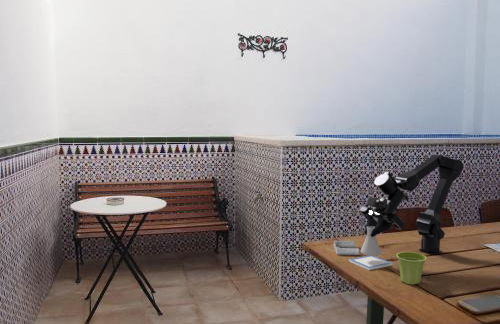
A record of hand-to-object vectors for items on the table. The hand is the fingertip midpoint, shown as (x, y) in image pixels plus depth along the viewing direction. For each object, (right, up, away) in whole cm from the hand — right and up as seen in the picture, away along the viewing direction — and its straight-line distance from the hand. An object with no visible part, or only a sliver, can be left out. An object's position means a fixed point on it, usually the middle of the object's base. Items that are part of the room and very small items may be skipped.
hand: (368, 235), depth 172 cm
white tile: (+1, -11, +2) cm, 11 cm away
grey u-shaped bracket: (-4, -9, +18) cm, 20 cm away
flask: (+1, -7, +1) cm, 7 cm away
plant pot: (+10, -13, -17) cm, 23 cm away
